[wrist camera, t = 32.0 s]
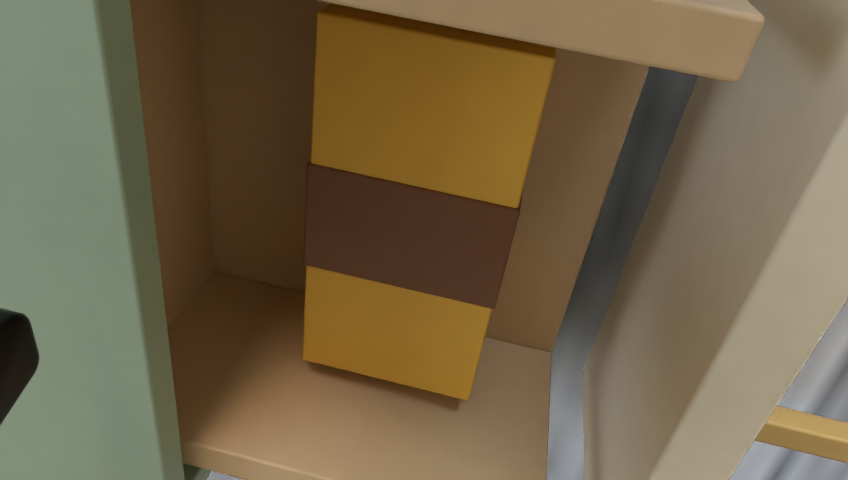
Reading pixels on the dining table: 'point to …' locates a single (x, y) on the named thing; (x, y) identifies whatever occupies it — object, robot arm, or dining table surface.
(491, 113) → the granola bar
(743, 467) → the dining table surface
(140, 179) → the cabinet
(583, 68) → the drawer
